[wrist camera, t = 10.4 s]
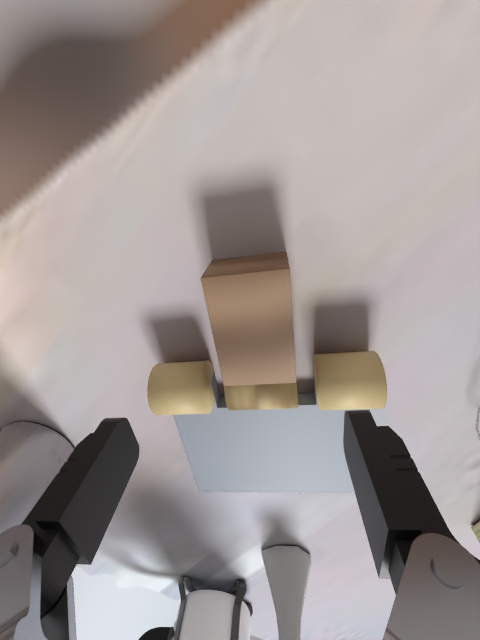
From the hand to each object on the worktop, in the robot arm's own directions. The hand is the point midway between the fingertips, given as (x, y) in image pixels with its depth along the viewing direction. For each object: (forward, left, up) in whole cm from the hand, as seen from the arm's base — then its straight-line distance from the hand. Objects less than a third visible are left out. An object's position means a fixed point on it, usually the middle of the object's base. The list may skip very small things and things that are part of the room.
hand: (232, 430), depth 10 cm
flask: (0, -41, -13) cm, 44 cm away
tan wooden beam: (0, -3, -13) cm, 14 cm away
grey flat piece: (0, -14, -13) cm, 19 cm away
